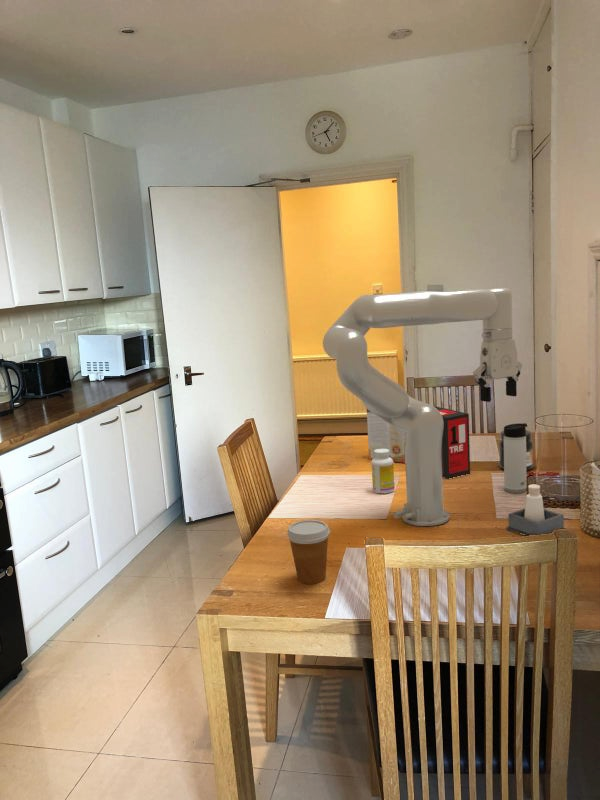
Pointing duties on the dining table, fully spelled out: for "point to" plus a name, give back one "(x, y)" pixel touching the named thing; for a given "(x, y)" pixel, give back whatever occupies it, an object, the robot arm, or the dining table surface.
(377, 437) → the cracker box
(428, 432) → the robot arm
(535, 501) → the pepper shaker
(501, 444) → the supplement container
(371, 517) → the dining table surface
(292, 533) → the disposable coffee cup
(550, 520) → the grey square tray
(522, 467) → the travel mug
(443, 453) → the cleaning product box
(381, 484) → the supplement bottle
